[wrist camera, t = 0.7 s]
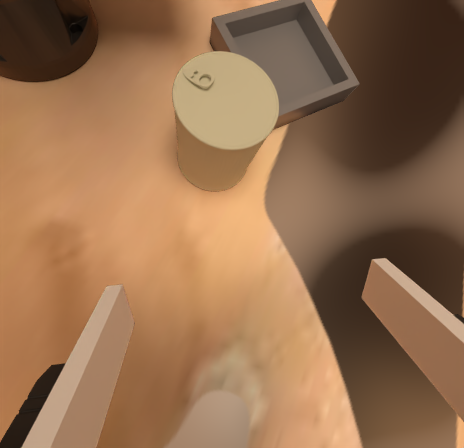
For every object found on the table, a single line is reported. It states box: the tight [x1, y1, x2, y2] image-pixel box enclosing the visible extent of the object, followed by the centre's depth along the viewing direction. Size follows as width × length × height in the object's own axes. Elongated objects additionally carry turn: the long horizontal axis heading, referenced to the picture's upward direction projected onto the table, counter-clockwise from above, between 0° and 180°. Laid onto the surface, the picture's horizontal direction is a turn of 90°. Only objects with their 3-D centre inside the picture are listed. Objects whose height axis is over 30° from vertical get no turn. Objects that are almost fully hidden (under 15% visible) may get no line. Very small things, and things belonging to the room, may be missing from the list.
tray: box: [210, 0, 359, 130], centre depth 33 cm, size 15×15×4 cm
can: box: [172, 51, 279, 191], centre depth 25 cm, size 9×9×12 cm
